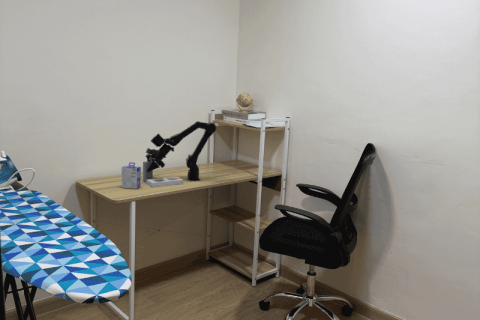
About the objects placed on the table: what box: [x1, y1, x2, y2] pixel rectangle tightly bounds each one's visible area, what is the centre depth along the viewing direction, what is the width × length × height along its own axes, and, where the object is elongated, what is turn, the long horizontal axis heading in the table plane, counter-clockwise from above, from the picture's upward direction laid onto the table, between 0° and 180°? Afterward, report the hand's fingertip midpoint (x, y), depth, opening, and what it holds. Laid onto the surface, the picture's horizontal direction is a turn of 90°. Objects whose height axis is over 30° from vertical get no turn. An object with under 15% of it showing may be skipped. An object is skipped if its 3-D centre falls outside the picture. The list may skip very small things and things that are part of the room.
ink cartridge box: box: [121, 161, 142, 190], centre depth 239 cm, size 10×6×14 cm, turn 78°
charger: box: [142, 161, 154, 183], centre depth 255 cm, size 4×4×12 cm
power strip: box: [146, 176, 184, 188], centre depth 252 cm, size 20×9×3 cm, turn 124°
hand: (145, 170), depth 254 cm, fingers closed on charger, 4 cm apart
